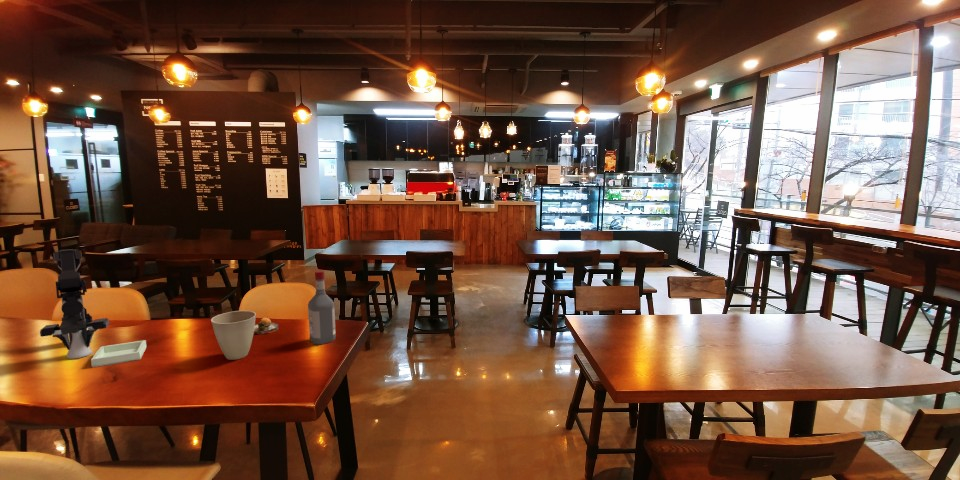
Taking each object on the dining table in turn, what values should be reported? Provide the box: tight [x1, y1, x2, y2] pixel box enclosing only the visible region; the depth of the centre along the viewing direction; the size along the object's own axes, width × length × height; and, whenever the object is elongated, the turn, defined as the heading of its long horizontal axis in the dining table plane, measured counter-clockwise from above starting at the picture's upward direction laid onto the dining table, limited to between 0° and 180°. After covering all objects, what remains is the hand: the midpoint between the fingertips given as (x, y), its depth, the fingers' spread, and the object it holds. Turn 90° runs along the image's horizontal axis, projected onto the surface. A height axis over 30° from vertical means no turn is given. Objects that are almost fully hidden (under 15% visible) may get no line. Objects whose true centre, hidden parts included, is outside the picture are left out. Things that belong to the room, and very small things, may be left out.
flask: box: [66, 330, 94, 360], centre depth 166 cm, size 7×7×10 cm
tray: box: [90, 339, 147, 368], centre depth 166 cm, size 14×14×3 cm
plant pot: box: [210, 310, 257, 361], centre depth 166 cm, size 15×15×16 cm
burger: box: [253, 317, 279, 335], centre depth 195 cm, size 12×12×8 cm
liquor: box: [307, 270, 337, 346], centre depth 181 cm, size 9×9×30 cm
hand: (78, 348), depth 166 cm, fingers closed on flask, 5 cm apart
